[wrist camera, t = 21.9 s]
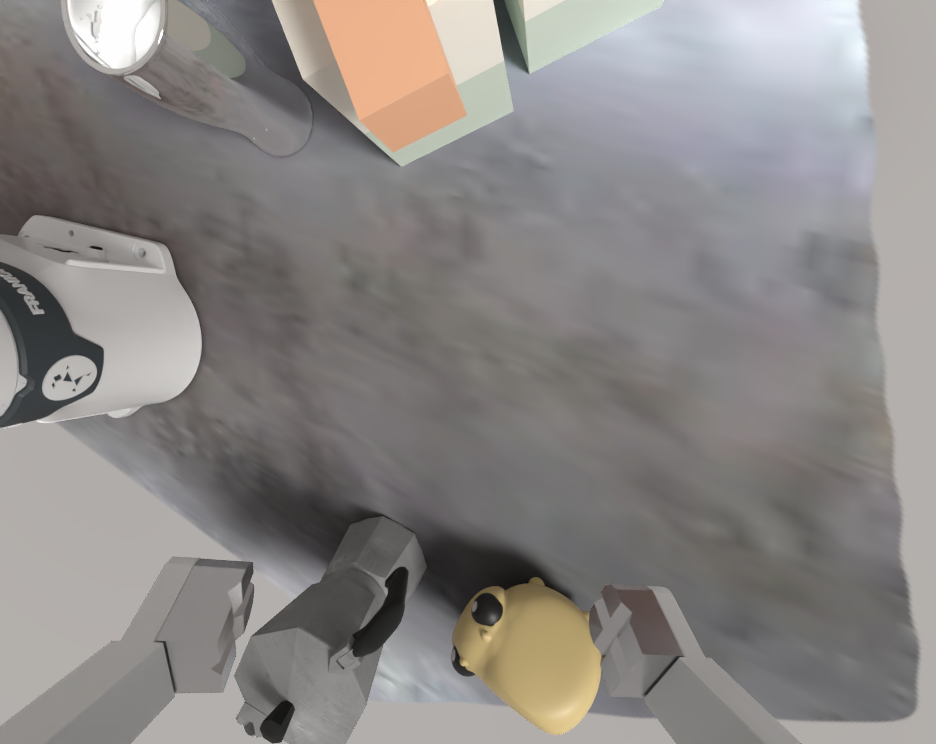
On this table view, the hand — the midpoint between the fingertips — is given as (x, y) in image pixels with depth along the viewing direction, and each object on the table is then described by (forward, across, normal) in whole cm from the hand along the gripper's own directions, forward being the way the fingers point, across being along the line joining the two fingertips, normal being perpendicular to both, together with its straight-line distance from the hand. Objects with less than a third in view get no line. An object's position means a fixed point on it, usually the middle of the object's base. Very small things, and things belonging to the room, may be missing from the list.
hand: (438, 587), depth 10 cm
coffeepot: (+22, -1, +28) cm, 36 cm away
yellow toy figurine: (+17, -14, +28) cm, 36 cm away
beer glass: (+39, +14, -6) cm, 42 cm away
